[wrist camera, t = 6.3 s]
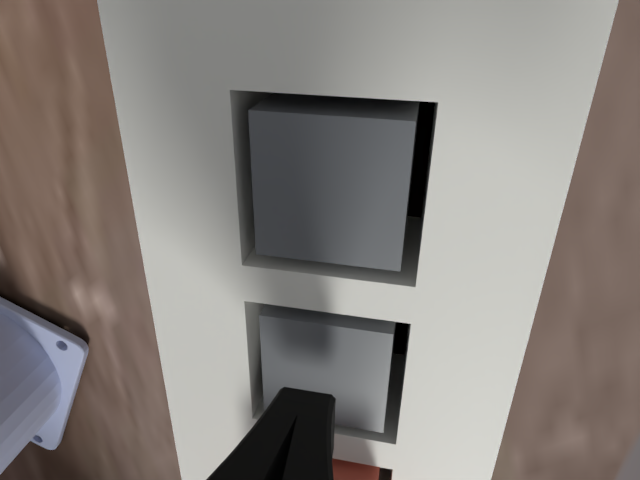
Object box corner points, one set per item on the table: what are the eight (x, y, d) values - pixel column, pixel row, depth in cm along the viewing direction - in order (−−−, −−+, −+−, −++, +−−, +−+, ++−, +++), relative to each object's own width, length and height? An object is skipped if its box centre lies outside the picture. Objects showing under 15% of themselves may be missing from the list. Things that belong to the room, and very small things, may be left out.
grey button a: (409, 204, 15) (400, 271, 12) (295, 193, 16) (255, 254, 13) (422, 84, 14) (416, 121, 10) (294, 77, 14) (248, 110, 11)
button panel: (453, 506, 21) (456, 609, 18) (230, 462, 23) (193, 548, 20) (571, -26, 12) (625, -26, 8) (179, -32, 14) (90, -34, 10)
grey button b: (394, 344, 18) (383, 433, 15) (296, 330, 19) (264, 412, 15) (403, 258, 16) (393, 334, 13) (296, 245, 17) (258, 315, 13)
